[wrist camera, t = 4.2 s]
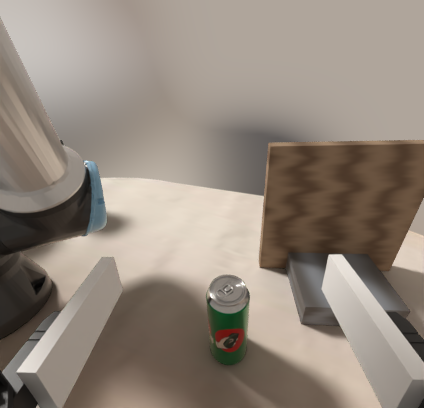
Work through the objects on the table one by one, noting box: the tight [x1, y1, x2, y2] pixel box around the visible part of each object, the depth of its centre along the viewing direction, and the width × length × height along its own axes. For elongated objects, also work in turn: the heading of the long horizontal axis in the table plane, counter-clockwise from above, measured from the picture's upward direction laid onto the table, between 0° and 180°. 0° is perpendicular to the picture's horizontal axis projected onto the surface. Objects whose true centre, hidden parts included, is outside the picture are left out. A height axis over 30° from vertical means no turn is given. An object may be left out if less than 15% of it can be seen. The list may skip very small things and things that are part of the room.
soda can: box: [206, 275, 250, 365], centre depth 29 cm, size 5×5×12 cm
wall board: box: [259, 140, 424, 326], centre depth 34 cm, size 24×14×24 cm, turn 86°
